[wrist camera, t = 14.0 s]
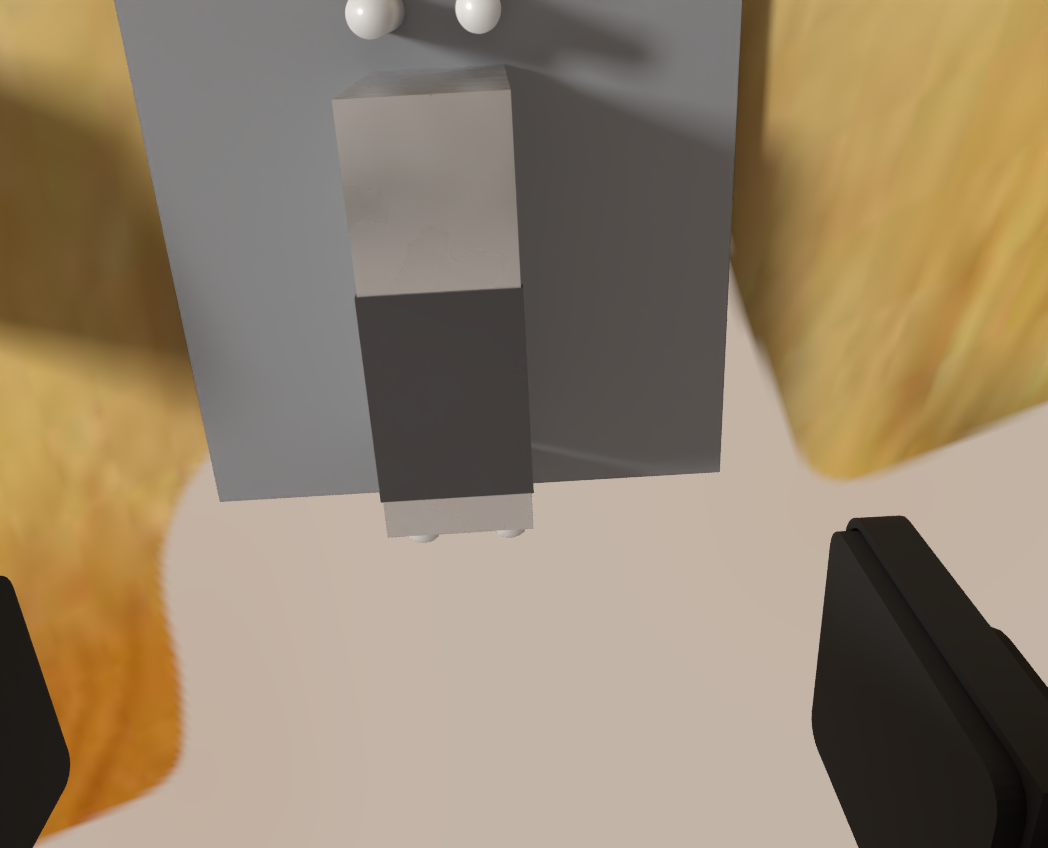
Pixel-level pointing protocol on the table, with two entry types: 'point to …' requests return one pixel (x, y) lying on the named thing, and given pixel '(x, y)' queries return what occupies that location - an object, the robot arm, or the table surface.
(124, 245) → the table surface
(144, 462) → the table surface
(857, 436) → the table surface
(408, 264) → the block
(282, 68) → the pin tray
